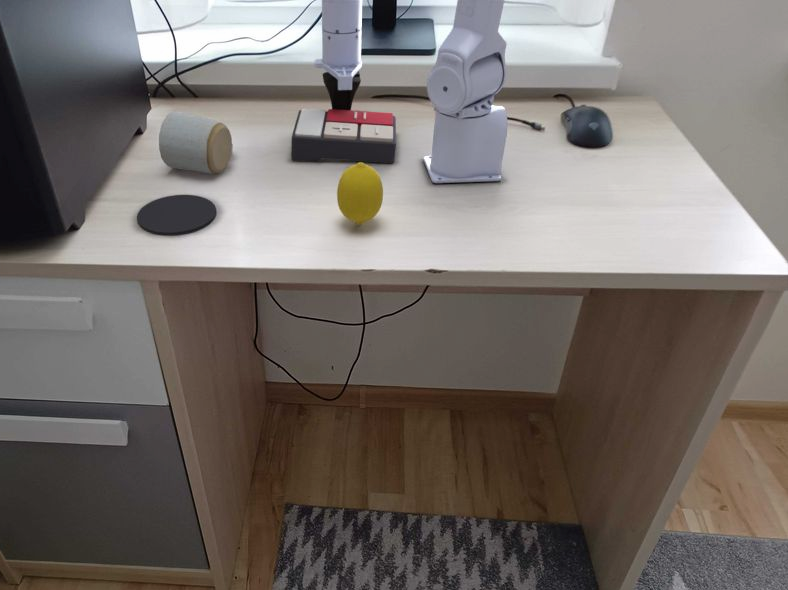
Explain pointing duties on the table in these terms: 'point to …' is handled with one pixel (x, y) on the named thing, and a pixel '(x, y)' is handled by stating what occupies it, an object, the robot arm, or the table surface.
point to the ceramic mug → (194, 143)
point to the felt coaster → (176, 214)
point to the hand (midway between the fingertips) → (341, 121)
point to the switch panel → (344, 136)
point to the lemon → (360, 193)
